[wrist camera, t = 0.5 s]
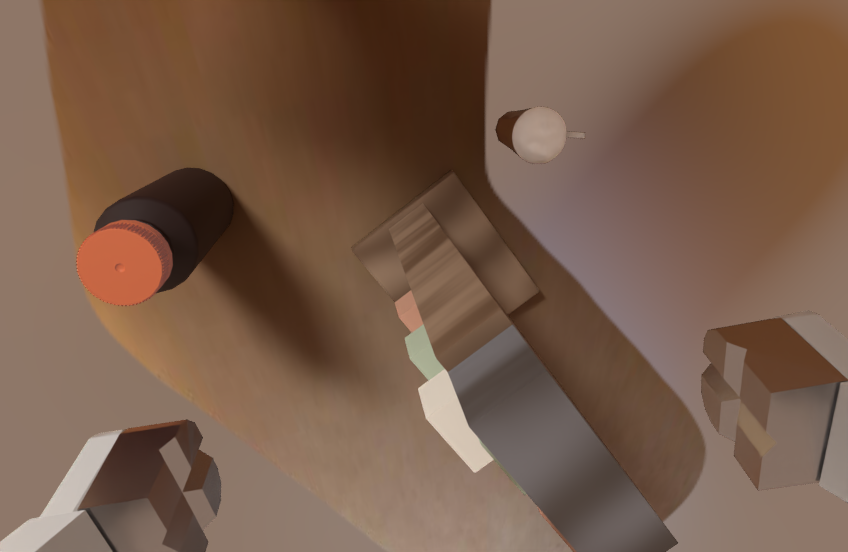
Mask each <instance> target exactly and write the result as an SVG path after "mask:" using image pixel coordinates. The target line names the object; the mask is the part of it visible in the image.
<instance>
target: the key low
mask: <svg viewBox="0 0 848 552" xmlns="http://www.w3.org/2000/svg"><path fill="white" fill-rule="evenodd" d="M395 305H396V309H397V312H398V316H399V318H400V319H401V320H402V322H403V323H404V324H405V325H406V326H407V328H408V329H409V330H410V331H411V332H414V331H415V330H416V329H418V328H419V327H420V326H422V325H423V321H422V319H421V316H420V313H419V310H418V308H417V305H416V302H415V299H414V297H413V294H412V291H411V290H410V291H409V292H408V293H407V294H405V295H404V296H403V297H401V298H400V299H399V300H397V301H396V302H395Z"/></svg>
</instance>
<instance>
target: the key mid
mask: <svg viewBox="0 0 848 552" xmlns="http://www.w3.org/2000/svg"><path fill="white" fill-rule="evenodd" d="M405 342H406V346H407V350H408V353H409V357H410V359H411V361H412V362H413V363H414V364H415V365H416V366H417V367H418V369H419V370H420V371H421V372H422V373H423V374H424V376H425V377H426V378H427V379H428V380H430V379H432V378H433V377H434V376H436V375H437V374H438V373H440V372H441V371H442V370H444V369H445V368H444V367H443V366H442V365H441V364H440V363H439V361H438V360H437V359H436V357H435V354H434V352H433V349H432V346H431V343H430V341H429V338H428V335H427V332H426V330H425V327H424V324H423V325H422V326H420V327H419V328H418V329H416V330H415V331H414V332H412V333H411V334H410V335H408V336H407V337H406V338H405Z"/></svg>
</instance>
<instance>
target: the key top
mask: <svg viewBox="0 0 848 552" xmlns="http://www.w3.org/2000/svg"><path fill="white" fill-rule="evenodd" d="M418 391H419V394H420V398H421V402H422V405H423V409H424V413H425V417H426V419H427V420H428V421H429V422H430V424H431V425H432V426H433V427H434V428H435V429H436V430H437V431H438V433H439V434H440V435H441V436H442V437H443V438H444V439H445V440H446V441H447V443H448V444H449V445H450V446H451V447H452V448H453V449H454V450H455V452H456V453H457V454H458V455H459V456H460V457H461V458H462V459H463V461H464V462H465V463H466V464H467V465H468V466H469V467H470V468H471V470H472V471H473V472H474V473H475V472H477V471H478V470H480V469H481V468H482V467H484V466H485V465H487V464H488V463H489V462H491V461H492V460H494V459H493V458H492V457H491V456H490V455H489V454H488V453H487V451H486V450H485V449H484V448H483V447H482V446H481V444H480V441H479V439H478V437H477V436H476V434H475V433H474V432H473V431H472V430H471V429H470V427H469V426H468V423H467V421H466V418H465V415H464V413H463V410H462V408H461V405H460V403H459V400H458V397H457V395H456V392H455V390H454V387H453V385H452V382H451V379H450V377H449V374H448V372H447V371H446V370H445V369H444V370H442V371H441V372H440V373H438V374H437V375H436V376H434V377H433V378H432V379H430V380H429V381H428V382H426V383H425V384H424V385H422V386H421V387H420V388H418Z"/></svg>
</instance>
